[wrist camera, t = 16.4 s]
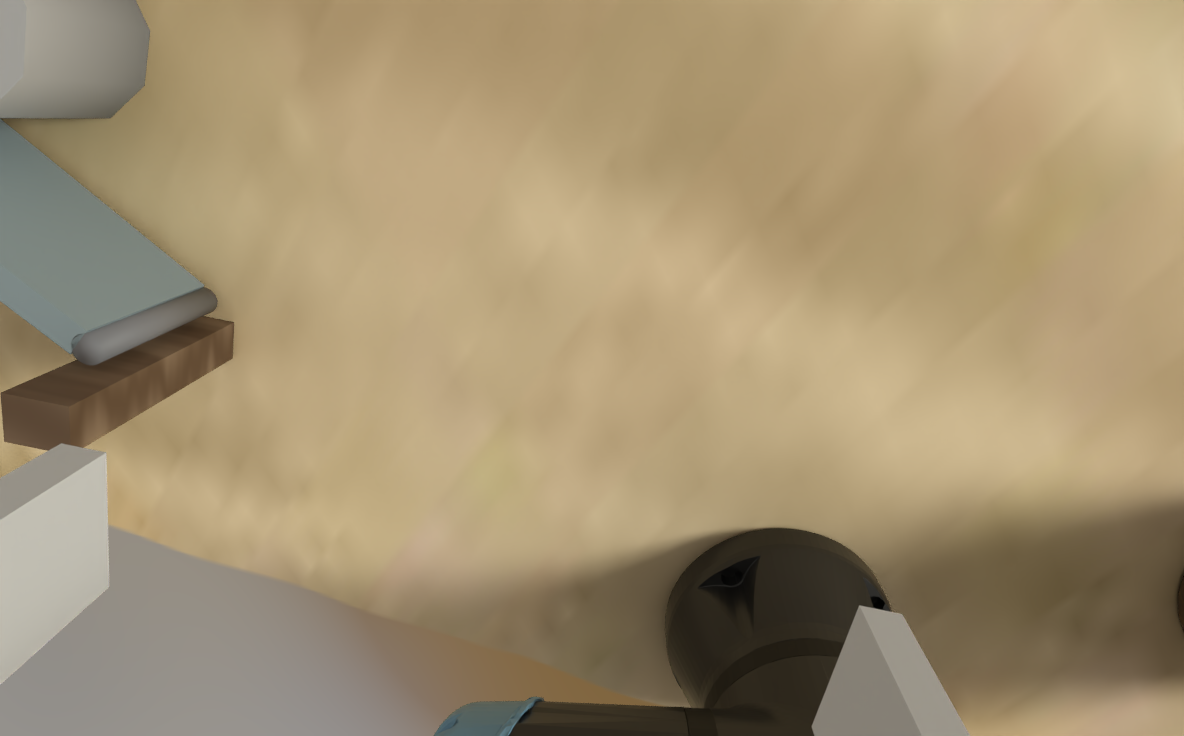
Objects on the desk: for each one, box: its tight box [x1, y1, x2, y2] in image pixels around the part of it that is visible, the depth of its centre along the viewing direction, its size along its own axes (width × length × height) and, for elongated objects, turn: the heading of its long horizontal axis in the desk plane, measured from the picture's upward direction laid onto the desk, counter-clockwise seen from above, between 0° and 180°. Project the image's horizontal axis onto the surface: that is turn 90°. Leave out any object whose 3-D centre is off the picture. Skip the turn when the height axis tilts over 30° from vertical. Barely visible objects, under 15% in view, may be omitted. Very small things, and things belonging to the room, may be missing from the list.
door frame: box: [1, 316, 234, 451], centre depth 33 cm, size 36×3×14 cm, turn 168°
